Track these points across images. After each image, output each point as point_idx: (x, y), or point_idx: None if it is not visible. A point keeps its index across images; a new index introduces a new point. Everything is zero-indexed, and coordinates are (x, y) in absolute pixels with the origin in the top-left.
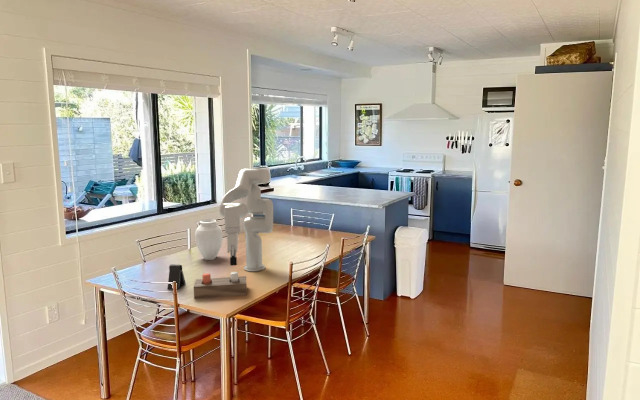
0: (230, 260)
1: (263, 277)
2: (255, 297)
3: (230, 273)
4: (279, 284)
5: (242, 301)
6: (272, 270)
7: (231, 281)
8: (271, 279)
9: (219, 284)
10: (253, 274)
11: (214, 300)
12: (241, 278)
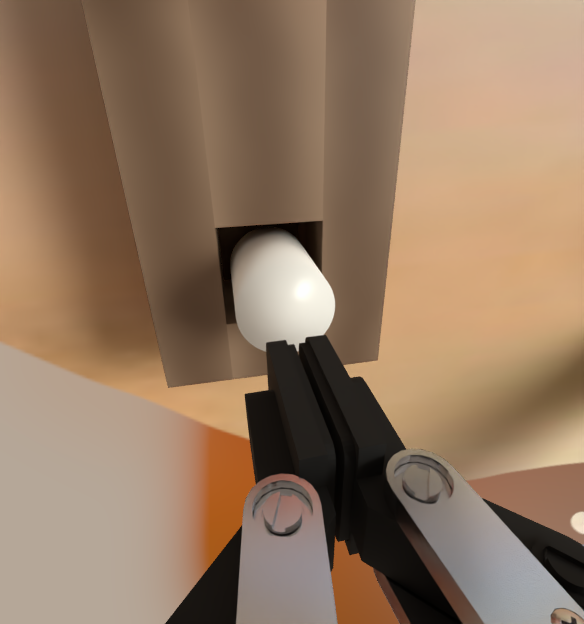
0: (285, 406)
1: (490, 390)
2: (125, 389)
3: (275, 267)
4: None
5: (30, 317)
6: (581, 418)
7: (243, 246)
8: (438, 431)
9: (139, 103)
10: (571, 330)
11: (20, 51)
12: None
